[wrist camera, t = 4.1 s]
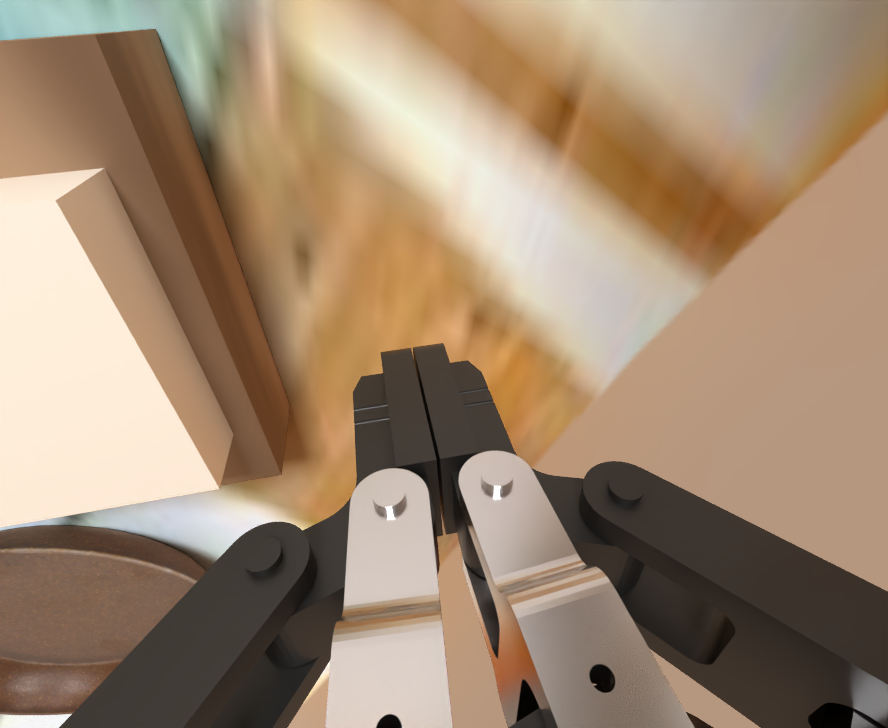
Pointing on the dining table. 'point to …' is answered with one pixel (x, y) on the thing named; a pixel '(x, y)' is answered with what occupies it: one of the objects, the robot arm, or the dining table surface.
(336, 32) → the dining table surface
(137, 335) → the white block
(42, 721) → the dining table surface
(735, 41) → the dining table surface
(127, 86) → the bronze rectangular block
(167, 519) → the dining table surface
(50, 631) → the plant saucer
